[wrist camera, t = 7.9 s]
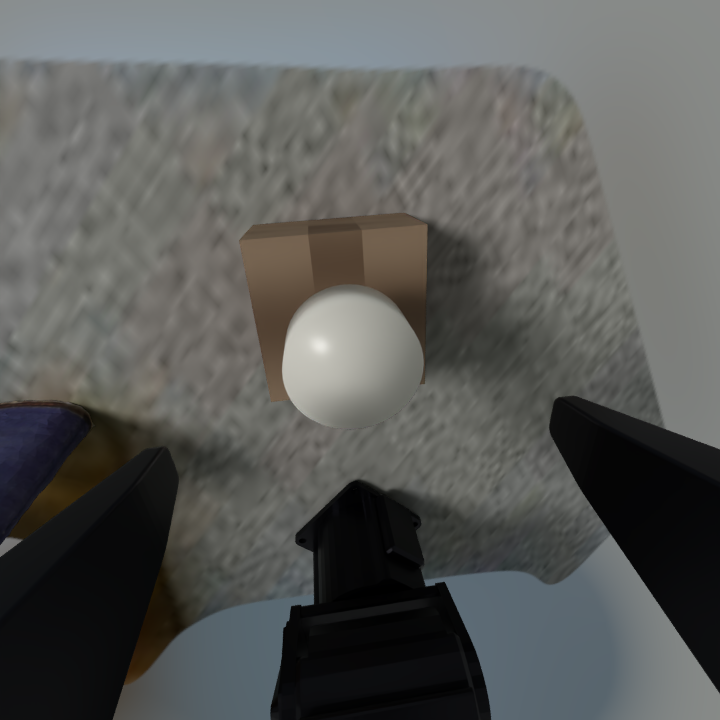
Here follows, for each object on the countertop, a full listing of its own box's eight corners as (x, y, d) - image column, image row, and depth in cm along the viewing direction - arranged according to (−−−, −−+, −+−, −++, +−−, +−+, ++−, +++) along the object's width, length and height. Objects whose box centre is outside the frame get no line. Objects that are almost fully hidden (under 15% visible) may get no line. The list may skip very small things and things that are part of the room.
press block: (405, 347, 21) (424, 383, 18) (277, 361, 21) (271, 401, 17) (404, 212, 18) (427, 224, 15) (252, 225, 18) (238, 240, 14)
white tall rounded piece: (381, 329, 20) (422, 421, 13) (298, 338, 20) (293, 436, 13) (378, 244, 18) (424, 296, 11) (285, 252, 18) (270, 311, 11)
